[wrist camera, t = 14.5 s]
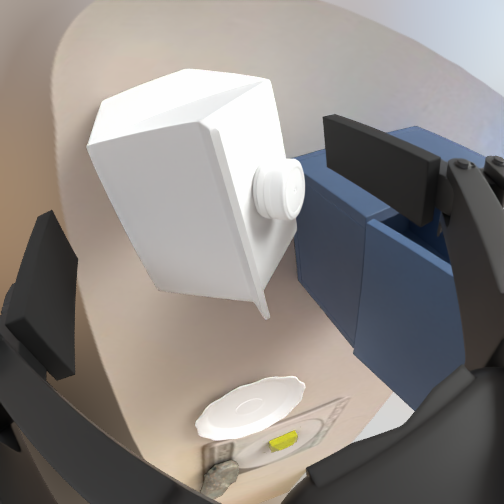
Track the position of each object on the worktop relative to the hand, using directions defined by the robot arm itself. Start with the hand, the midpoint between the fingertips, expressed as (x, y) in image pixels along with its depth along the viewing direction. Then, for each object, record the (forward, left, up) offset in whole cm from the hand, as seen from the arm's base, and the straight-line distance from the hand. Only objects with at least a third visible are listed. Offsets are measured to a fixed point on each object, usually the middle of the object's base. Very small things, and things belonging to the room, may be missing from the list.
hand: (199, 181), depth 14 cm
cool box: (+15, +20, -13) cm, 28 cm away
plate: (+49, -1, -14) cm, 51 cm away
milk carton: (0, 0, -14) cm, 14 cm away
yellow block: (+77, +3, -14) cm, 78 cm away
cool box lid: (+15, +12, +9) cm, 21 cm away
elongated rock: (+88, -19, -14) cm, 91 cm away
